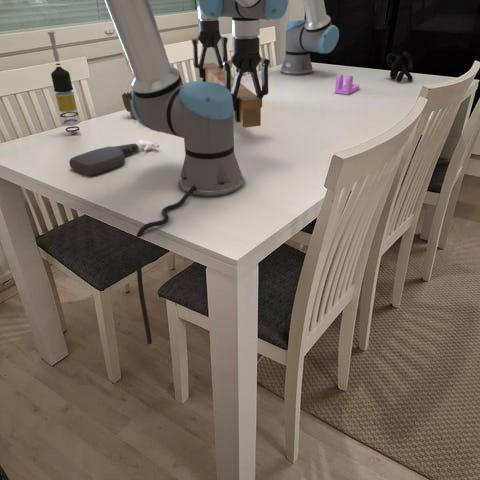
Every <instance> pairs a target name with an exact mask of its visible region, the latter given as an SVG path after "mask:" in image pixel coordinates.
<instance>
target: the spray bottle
mask: <svg viewBox="0 0 480 480" xmlns="http://www.w3.org/2000/svg"><path fill="white" fill-rule="evenodd" d="M159 148H160V145H159V144H158V143H155V142H151V141H148V140H144V139H139V140H138V141H137V142H135V143H129V144H128V143H126V144H122V145H113V146H105V147H100V148H97V149H94V150H90V151H87V152H83V153H81V154H78V155H74V156H73V157H70V159H69V161H68V162H69V167H70V168H71V169H72V170H74V171H75V172H78V173H81V174H83V175H85V176H89V177H90V176H91V177H92V176H95V175H99V174H102V173H105V172H107V171H110V170H113V169H116V168H118V167H120V166H122V165H123V164H124V163H125V158H126V156H127V155H131V154H133V153H138V151H140V150H143V151H144V152H146V151H147V150H149V149H159Z"/></svg>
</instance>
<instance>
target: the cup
mask: <svg viewBox="0 0 480 480" xmlns="http://www.w3.org/2000/svg"><path fill="white" fill-rule="evenodd" d="M132 91H133V90H131V91H127V92H124V93H122V94H121V98H122V103H123V105H124V108H125V110H126V112H128V113H129V117H131V118H135V117H134V115H133V112H132V110H131V104H130V100H132V96H131V94H132Z"/></svg>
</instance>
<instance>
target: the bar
mask: <svg viewBox="0 0 480 480" xmlns="http://www.w3.org/2000/svg"><path fill="white" fill-rule="evenodd" d="M203 68H204V69H205V82H213V83H217V84H220V85H223V86H225V70H224V68H223V69H222V68H220V67H219V64H218V63H217V64H216V63H215V62H210V63H209V62H208V63H204V64H203ZM234 79H235V77H233V75H231V92H232V87H233V83H234ZM237 99H238V100H239V122H237V123H238V124H239V125H240V126H241V128H243V129H246V128H254V127H261V122H262V121H261V120H262V117H261V116H262V115H261V114H262V108H261V99H260V98H259V97H258V96H257V95H256V93H255V92H253V91H251V90H250V89H249V88H247V86H245V85H243V84H242V83H241V82H240V86H239V91H238V95H237ZM234 120H235V112H234Z"/></svg>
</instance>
